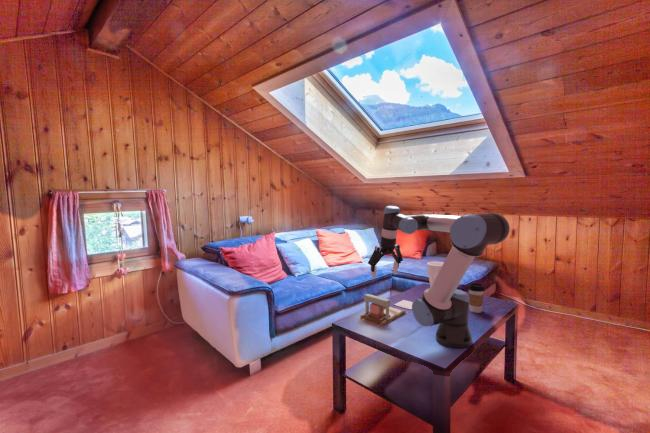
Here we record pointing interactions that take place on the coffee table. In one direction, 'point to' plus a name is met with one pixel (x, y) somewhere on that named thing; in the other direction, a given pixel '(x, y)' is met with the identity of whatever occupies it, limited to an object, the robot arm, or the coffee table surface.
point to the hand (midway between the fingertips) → (384, 275)
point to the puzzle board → (381, 322)
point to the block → (376, 311)
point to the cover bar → (377, 302)
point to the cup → (433, 270)
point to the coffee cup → (476, 297)
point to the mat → (404, 304)
